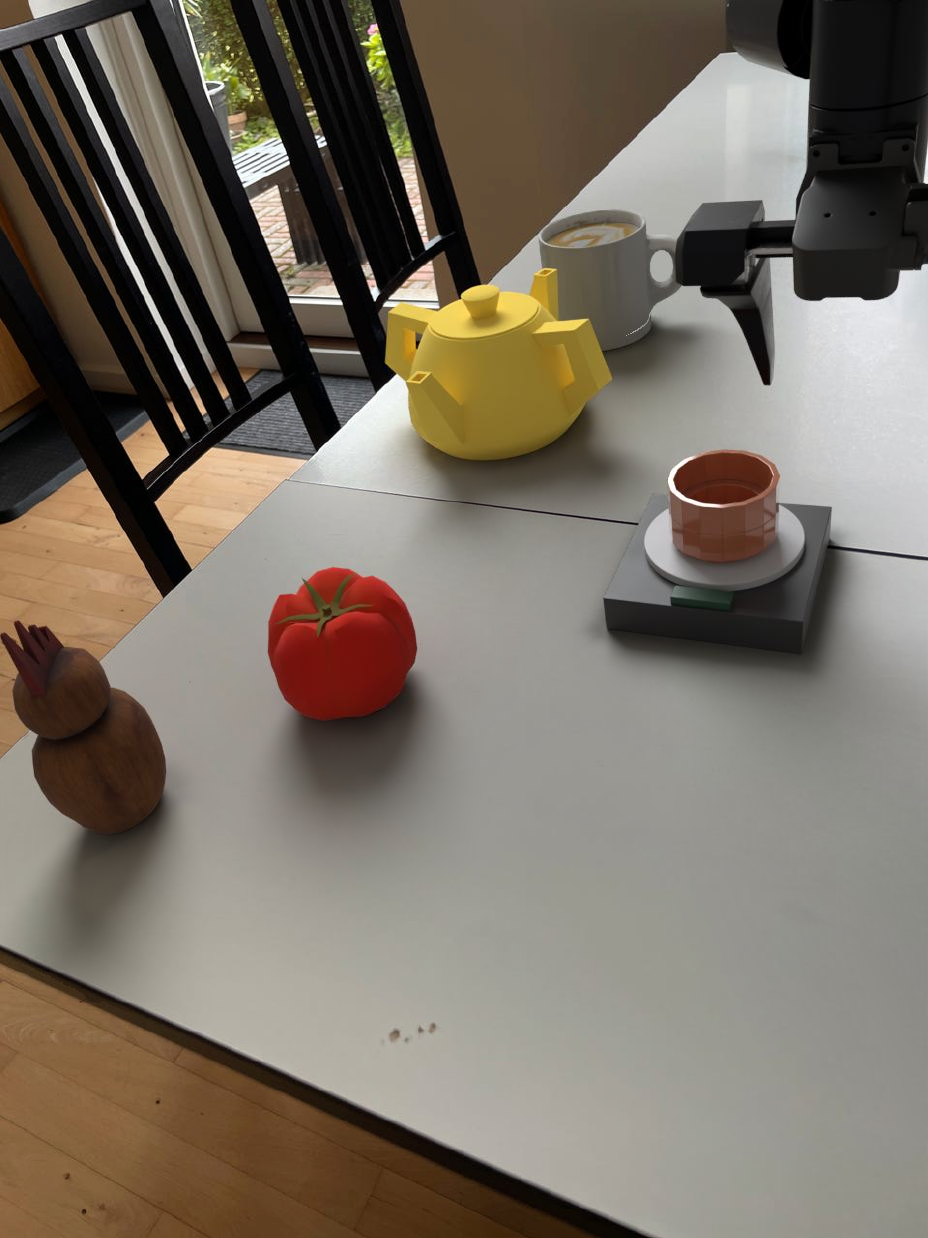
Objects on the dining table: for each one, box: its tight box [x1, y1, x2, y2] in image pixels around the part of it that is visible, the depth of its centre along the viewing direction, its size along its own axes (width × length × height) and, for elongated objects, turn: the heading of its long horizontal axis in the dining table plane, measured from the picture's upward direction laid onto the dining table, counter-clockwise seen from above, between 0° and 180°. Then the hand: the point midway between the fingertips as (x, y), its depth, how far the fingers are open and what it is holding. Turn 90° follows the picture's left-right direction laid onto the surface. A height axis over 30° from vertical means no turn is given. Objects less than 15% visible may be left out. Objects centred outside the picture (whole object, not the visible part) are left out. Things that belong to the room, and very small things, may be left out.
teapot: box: [384, 268, 613, 461], centre depth 84 cm, size 17×17×12 cm
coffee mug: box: [538, 208, 683, 352], centre depth 95 cm, size 13×10×10 cm
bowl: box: [666, 448, 781, 562], centre depth 63 cm, size 7×7×4 cm
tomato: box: [267, 566, 418, 721], centre depth 61 cm, size 9×9×8 cm
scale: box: [602, 493, 833, 655], centre depth 65 cm, size 12×12×3 cm
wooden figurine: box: [0, 619, 167, 835], centre depth 54 cm, size 7×6×15 cm
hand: (849, 384), depth 59 cm, fingers open, 9 cm apart
